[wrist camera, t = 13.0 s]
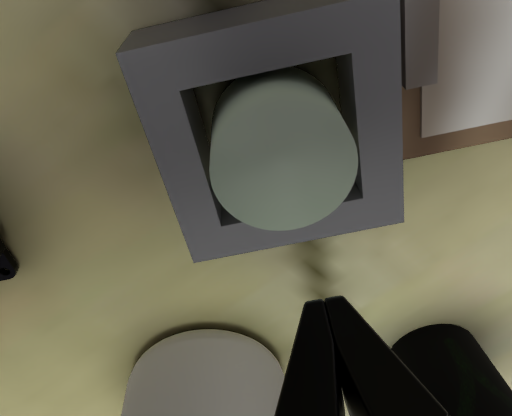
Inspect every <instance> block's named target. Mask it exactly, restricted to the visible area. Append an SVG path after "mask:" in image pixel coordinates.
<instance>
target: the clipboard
mask: <svg viewBox="0 0 512 416" xmlns="http://www.w3.org/2000/svg"><path fill="white" fill-rule="evenodd" d="M400 23H401V79H402V135H403V160H405V159H410V158H415V157H420V156H425V155H430V154H435V153H439V152H444V151H449V150H454V149H459V148H464V147H469V146H474V145H479V144H484V143H489V142H494V141H499V140H504V139H508V138H512V0H400Z"/></svg>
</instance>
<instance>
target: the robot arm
mask: <svg viewBox="0 0 512 416" xmlns="http://www.w3.org/2000/svg"><path fill="white" fill-rule="evenodd" d="M5 268H7V269H8V270H6V269H5ZM18 268H19V267H18V264H17V263H16V261H15V260H14V258H13V257H12V255H11V254H10V252H9V251H8V250H7V248H6V247H5V245H4V243H3V242H2V240H1V239H0V281H2V280H7V279H11V278H13V277H14V276H15V275H16V273H17V271H18ZM342 392H343V394H342ZM343 396H344V400H345V403H346V406H347V409H348V412H349V415H350V416H448V412H447V411H446V410H445V409H444V408H443V407H442V405H441V404H440V403H439V402H438V401H437V400H436V399H435V398H434V397H433V395H432V394H431V393H430V392H429V391H428V390H427V389H426V388H425V386H424V385H423V384H422V383H421V382H420V381H419V380H418V379H417V378H416V376H415V375H414V374H413V373H412V372H411V371H410V370H409V369H408V368H407V366H406V365H405V364H404V363H403V362H402V361H401V360H400V359H399V358H398V356H397V355H396V354H395V353H394V352H393V351H392V350H391V349H390V347H389V346H388V345H387V344H386V343H385V342H384V341H383V340H382V339H381V337H380V336H379V335H378V334H377V333H376V332H375V331H374V330H373V329H372V327H371V326H370V325H369V324H368V323H367V322H366V321H365V320H364V319H363V317H362V316H361V315H360V314H359V313H358V312H357V311H356V310H355V308H354V307H353V306H352V305H351V304H350V303H349V302H348V301H347V300H346V298H344V297H343V296H334V297H329V298H326V299H325V300H324V301H323V300H322V299H318V300H312V301H307V302H305V304H304V307H303V310H302V314H301V318H300V322H299V325H298V329H297V333H296V336H295V340H294V344H293V348H292V351H291V355H290V359H289V363H288V366H287V370H286V374H285V377H284V381H283V385H282V389H281V392H280V396H279V400H278V403H277V407H276V411H275V415H274V416H345V408H344V400H343Z"/></svg>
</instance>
